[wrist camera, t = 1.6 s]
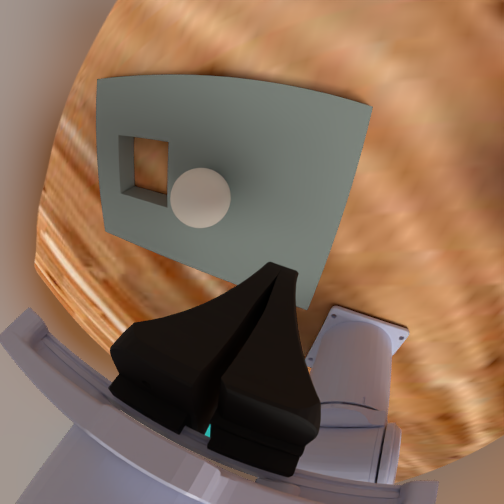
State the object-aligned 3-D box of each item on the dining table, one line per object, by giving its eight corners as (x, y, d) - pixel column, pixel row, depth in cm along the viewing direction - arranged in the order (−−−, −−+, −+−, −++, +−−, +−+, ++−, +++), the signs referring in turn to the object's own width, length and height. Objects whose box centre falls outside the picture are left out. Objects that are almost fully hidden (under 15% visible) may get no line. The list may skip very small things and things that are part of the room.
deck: (312, 295, 24) (307, 310, 22) (117, 223, 28) (105, 231, 27) (371, 106, 14) (372, 106, 13) (113, 77, 19) (97, 79, 18)
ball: (236, 220, 20) (210, 247, 17) (189, 205, 21) (158, 228, 18) (243, 168, 18) (215, 186, 15) (192, 156, 19) (157, 172, 16)
